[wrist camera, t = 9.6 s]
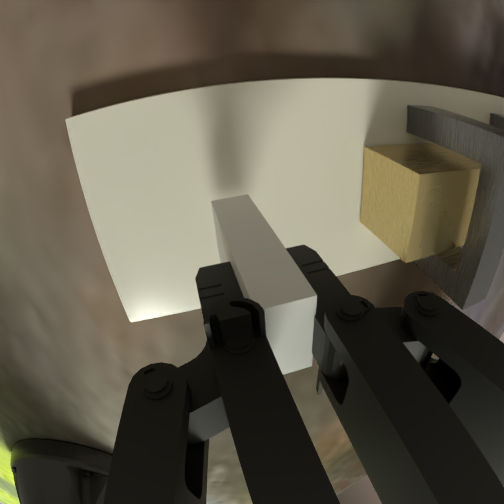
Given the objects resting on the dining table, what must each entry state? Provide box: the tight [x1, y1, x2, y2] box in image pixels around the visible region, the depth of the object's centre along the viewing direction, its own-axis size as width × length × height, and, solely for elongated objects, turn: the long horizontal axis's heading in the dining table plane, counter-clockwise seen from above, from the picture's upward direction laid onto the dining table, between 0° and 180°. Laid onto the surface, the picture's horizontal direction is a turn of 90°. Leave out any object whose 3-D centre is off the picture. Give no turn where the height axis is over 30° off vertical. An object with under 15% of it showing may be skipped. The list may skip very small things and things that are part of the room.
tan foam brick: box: [360, 143, 481, 263], centre depth 16 cm, size 20×4×4 cm, turn 94°
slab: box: [65, 77, 504, 322], centre depth 17 cm, size 34×11×1 cm, turn 94°
